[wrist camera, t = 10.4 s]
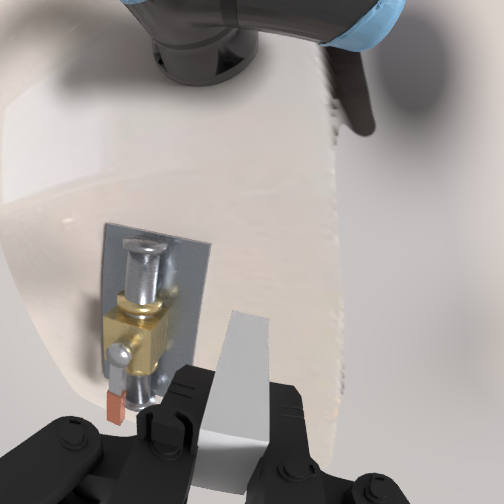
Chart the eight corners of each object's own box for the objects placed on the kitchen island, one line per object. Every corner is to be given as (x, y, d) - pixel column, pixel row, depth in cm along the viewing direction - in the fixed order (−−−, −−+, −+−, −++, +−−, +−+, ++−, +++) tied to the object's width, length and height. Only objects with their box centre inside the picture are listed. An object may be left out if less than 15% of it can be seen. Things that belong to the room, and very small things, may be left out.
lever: (113, 335, 33) (105, 342, 31) (135, 344, 33) (128, 353, 31) (109, 410, 36) (104, 418, 34) (127, 418, 36) (122, 427, 34)
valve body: (110, 222, 40) (75, 230, 31) (211, 243, 40) (196, 258, 31) (107, 374, 45) (84, 402, 36) (188, 399, 45) (176, 435, 36)
